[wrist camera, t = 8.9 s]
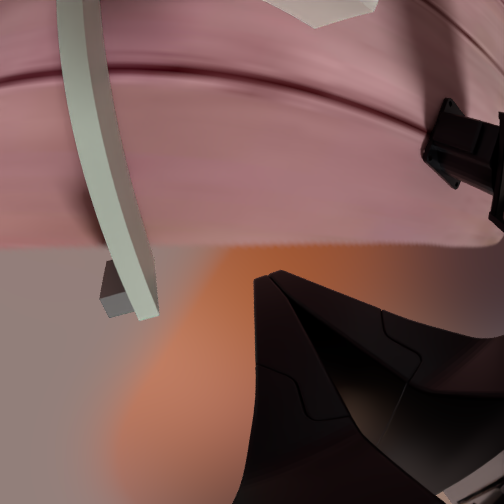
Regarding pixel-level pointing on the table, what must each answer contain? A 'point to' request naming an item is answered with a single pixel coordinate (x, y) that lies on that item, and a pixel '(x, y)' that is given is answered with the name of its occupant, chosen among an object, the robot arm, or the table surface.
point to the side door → (105, 161)
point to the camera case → (324, 10)
